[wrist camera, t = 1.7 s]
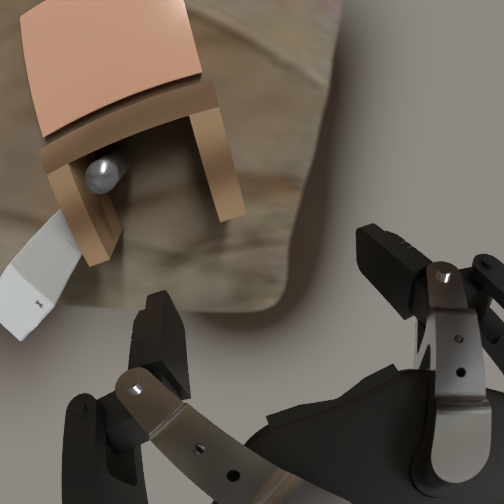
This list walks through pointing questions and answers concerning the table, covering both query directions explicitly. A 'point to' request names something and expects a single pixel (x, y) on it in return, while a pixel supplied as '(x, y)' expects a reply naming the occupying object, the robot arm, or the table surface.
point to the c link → (121, 126)
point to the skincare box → (37, 276)
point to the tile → (102, 53)
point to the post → (107, 170)
